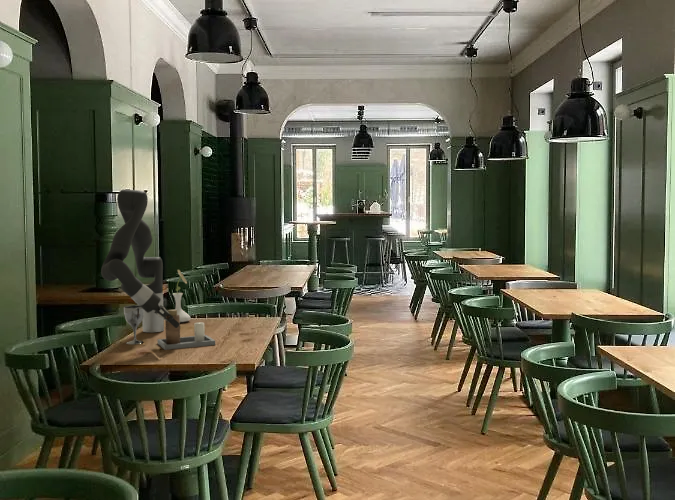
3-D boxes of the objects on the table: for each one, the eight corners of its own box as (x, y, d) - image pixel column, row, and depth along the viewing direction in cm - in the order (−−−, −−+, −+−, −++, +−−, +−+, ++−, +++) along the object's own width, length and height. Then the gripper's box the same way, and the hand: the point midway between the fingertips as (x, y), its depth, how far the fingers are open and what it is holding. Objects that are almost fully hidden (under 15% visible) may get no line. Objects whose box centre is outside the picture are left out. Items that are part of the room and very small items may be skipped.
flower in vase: (188, 323, 352) (186, 271, 350) (164, 324, 352) (162, 271, 350) (193, 319, 365) (192, 268, 363) (170, 319, 365) (168, 268, 363)
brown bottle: (164, 344, 297) (163, 310, 296) (178, 343, 299) (177, 309, 298) (167, 347, 292) (166, 311, 291) (181, 345, 294) (180, 310, 293)
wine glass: (127, 345, 302) (126, 308, 300) (123, 342, 309) (122, 306, 308) (147, 343, 305) (145, 306, 304) (142, 340, 312) (141, 304, 311)
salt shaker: (193, 342, 301) (193, 322, 300) (203, 341, 302) (202, 322, 302) (196, 344, 297) (195, 324, 297) (205, 343, 299) (205, 323, 298)
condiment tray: (157, 345, 300) (157, 339, 300) (206, 340, 308) (206, 334, 308) (164, 351, 287) (164, 345, 287) (215, 346, 295) (215, 340, 295)
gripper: (155, 292, 284) (186, 320, 290) (148, 289, 297) (178, 315, 303) (142, 307, 282) (173, 334, 288) (135, 303, 295) (165, 329, 301)
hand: (175, 324), depth 295 cm, fingers open, 8 cm apart
